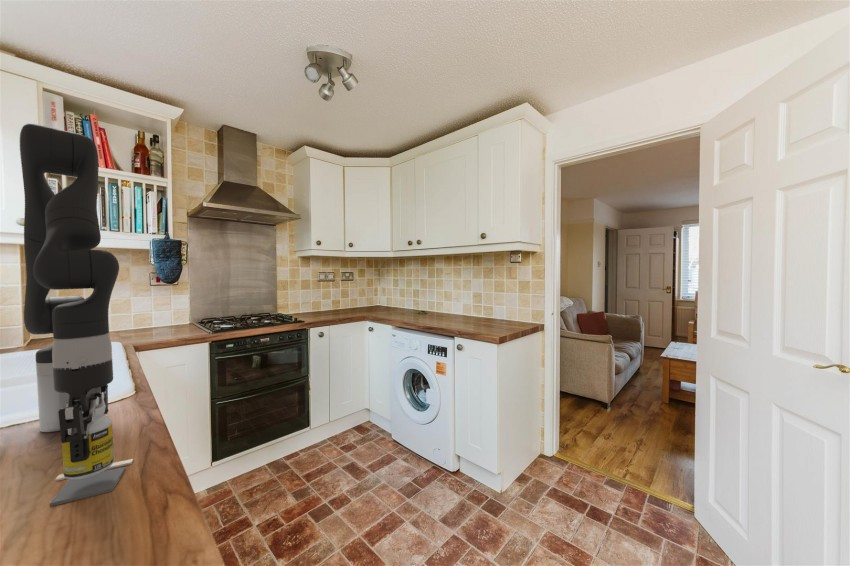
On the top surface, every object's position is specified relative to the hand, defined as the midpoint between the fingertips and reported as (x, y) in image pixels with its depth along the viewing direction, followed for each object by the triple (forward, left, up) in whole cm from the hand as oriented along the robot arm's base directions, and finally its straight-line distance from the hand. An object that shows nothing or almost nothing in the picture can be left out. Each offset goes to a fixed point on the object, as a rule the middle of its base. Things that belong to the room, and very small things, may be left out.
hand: (88, 450), depth 61 cm
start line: (-7, -1, -7) cm, 9 cm away
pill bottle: (0, 0, -4) cm, 4 cm away
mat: (0, 0, -7) cm, 7 cm away
